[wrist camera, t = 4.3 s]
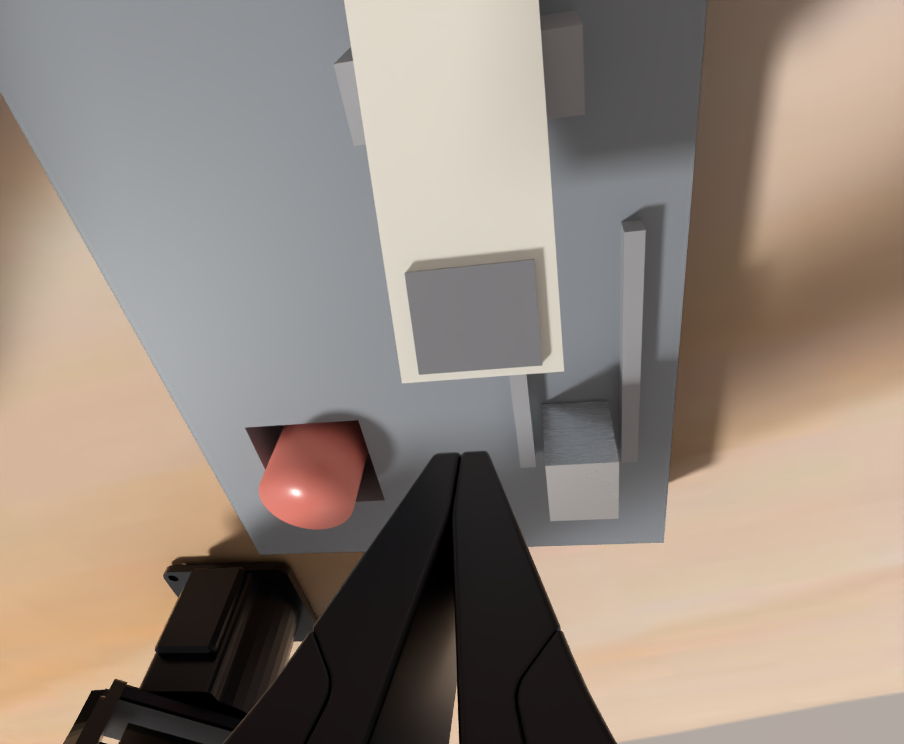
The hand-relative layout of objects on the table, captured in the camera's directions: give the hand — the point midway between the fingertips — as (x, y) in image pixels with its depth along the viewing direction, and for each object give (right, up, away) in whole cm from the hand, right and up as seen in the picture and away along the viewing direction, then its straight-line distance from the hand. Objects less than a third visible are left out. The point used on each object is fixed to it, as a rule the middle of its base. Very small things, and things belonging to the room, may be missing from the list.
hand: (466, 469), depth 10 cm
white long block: (0, +6, +2) cm, 7 cm away
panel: (-2, +5, +10) cm, 11 cm away
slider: (+4, 0, +10) cm, 11 cm away
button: (-5, 0, +14) cm, 15 cm away
